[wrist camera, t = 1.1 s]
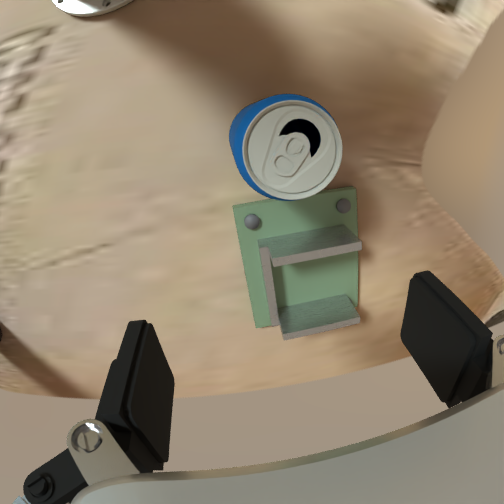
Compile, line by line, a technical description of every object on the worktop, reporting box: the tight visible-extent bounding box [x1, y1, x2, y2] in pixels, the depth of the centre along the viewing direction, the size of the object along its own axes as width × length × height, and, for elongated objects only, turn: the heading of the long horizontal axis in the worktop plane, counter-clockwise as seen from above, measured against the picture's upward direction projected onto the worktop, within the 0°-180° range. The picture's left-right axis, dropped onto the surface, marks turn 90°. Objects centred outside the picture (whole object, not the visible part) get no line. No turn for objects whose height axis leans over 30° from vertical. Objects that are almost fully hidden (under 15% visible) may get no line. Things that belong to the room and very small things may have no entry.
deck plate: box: [233, 186, 358, 328], centre depth 32 cm, size 14×12×1 cm
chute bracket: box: [257, 224, 362, 340], centre depth 30 cm, size 9×9×4 cm
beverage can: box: [229, 94, 343, 201], centre depth 22 cm, size 6×6×12 cm
